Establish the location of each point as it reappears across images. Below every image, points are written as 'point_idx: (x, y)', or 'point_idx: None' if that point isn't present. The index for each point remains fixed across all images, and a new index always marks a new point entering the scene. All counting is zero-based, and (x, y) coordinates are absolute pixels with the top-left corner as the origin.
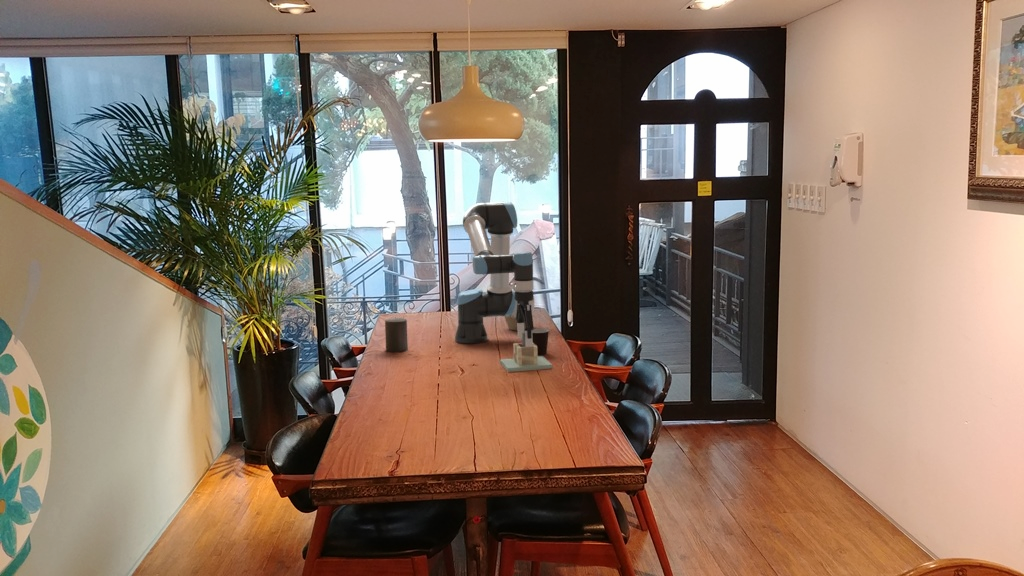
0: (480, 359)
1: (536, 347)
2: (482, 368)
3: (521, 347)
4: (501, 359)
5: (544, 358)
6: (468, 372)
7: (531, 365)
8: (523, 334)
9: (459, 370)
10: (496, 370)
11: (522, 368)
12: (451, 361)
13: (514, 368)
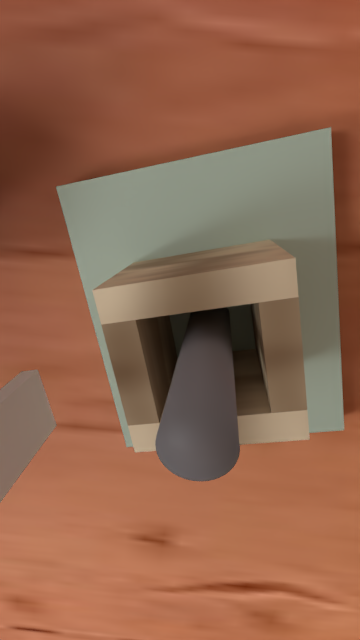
0: (54, 505)
1: (293, 265)
2: (229, 515)
3: (297, 409)
4: (129, 440)
5: (129, 175)
6: (291, 572)
7: (314, 287)
8: (230, 458)
9: (245, 596)
10: (285, 464)
11: (337, 344)
12: (86, 603)
13: (340, 392)
